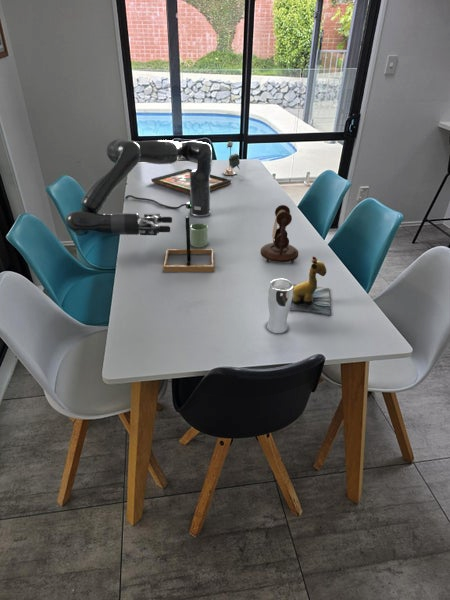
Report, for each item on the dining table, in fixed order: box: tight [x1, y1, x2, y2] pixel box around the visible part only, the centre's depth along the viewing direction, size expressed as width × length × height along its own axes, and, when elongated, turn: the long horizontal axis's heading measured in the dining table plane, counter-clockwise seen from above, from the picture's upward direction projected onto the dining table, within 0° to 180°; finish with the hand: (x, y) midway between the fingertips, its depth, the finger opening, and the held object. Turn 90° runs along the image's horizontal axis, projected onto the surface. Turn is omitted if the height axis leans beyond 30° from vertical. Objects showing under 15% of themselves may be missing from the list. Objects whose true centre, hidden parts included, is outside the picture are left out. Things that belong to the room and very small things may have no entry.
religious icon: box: [151, 168, 232, 195], centre depth 232 cm, size 38×35×3 cm
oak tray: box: [162, 248, 214, 273], centre depth 152 cm, size 18×14×2 cm
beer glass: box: [266, 278, 295, 334], centre depth 115 cm, size 7×7×15 cm
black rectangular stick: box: [185, 215, 192, 266], centre depth 146 cm, size 4×1×18 cm, turn 2°
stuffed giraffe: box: [290, 256, 331, 316], centre depth 129 cm, size 16×18×16 cm
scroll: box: [260, 204, 299, 264], centre depth 152 cm, size 15×15×20 cm
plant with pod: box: [222, 140, 241, 176], centre depth 246 cm, size 8×11×20 cm
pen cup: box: [190, 222, 209, 248], centre depth 163 cm, size 7×7×8 cm
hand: (171, 224), depth 143 cm, fingers open, 8 cm apart
